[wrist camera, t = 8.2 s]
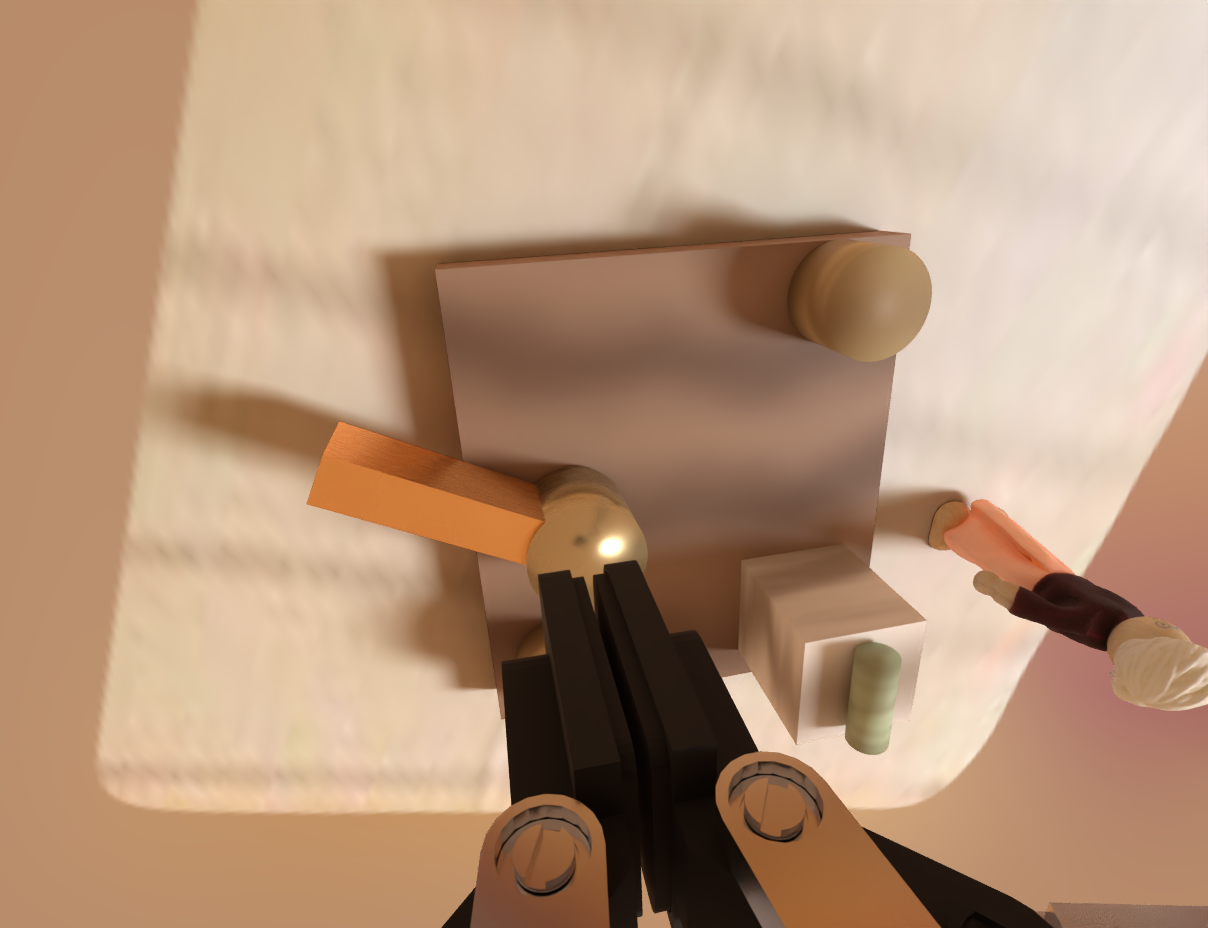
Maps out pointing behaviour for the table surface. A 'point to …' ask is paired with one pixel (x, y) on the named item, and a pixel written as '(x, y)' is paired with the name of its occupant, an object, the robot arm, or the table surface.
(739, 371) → the base
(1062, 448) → the table surface
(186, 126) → the table surface
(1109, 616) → the grandmother figurine
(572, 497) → the orange lever bar
